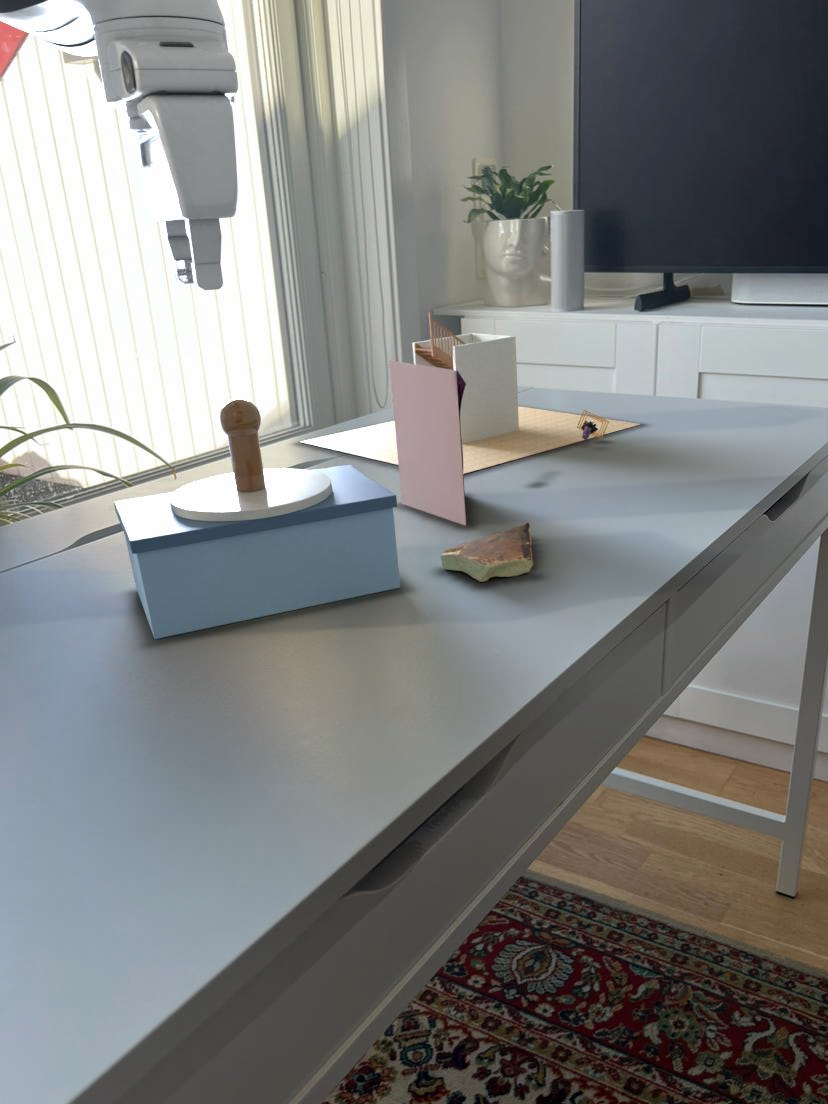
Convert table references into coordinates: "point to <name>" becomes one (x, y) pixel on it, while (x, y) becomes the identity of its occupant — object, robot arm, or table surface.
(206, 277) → the robot arm
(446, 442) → the greeting card
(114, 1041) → the table surface
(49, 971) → the table surface
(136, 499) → the storage container
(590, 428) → the framed picture
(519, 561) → the shard
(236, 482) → the peg on round base
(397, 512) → the table surface
